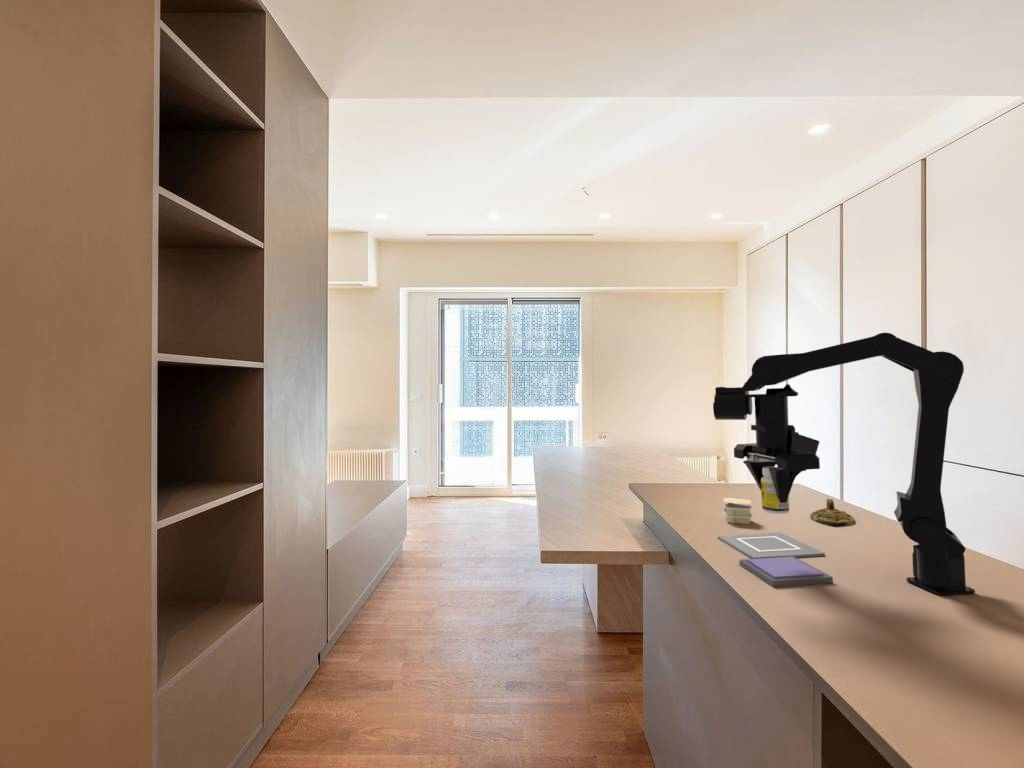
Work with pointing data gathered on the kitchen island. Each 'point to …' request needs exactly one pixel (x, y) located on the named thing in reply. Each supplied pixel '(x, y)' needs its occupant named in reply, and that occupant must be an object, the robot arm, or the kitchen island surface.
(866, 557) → the kitchen island surface
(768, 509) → the supplement bottle
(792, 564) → the pad
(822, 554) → the board
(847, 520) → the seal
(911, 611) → the kitchen island surface
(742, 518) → the cream tiered block
